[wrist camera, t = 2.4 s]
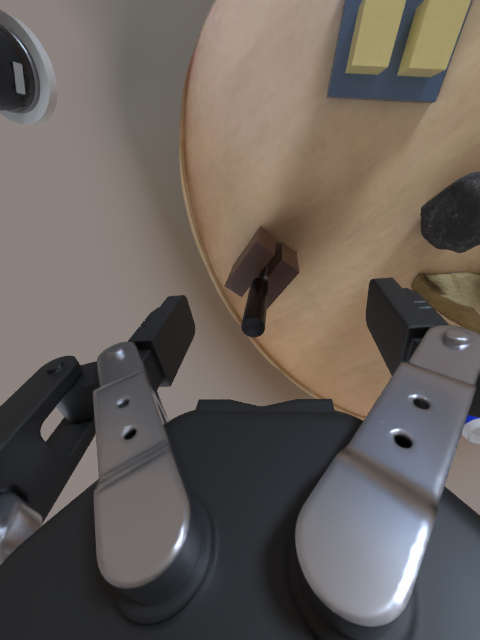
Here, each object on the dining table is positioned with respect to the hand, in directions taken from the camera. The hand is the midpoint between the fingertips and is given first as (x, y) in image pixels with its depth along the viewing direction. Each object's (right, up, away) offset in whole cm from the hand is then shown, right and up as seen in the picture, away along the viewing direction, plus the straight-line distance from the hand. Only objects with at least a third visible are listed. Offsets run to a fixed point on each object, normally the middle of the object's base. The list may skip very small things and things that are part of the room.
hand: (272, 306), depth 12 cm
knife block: (+2, +9, +31) cm, 33 cm away
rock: (+32, +5, +30) cm, 44 cm away
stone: (+26, +15, +24) cm, 39 cm away
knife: (+2, +9, +31) cm, 33 cm away
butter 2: (+18, +28, +15) cm, 37 cm away
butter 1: (+12, +29, +16) cm, 35 cm away
